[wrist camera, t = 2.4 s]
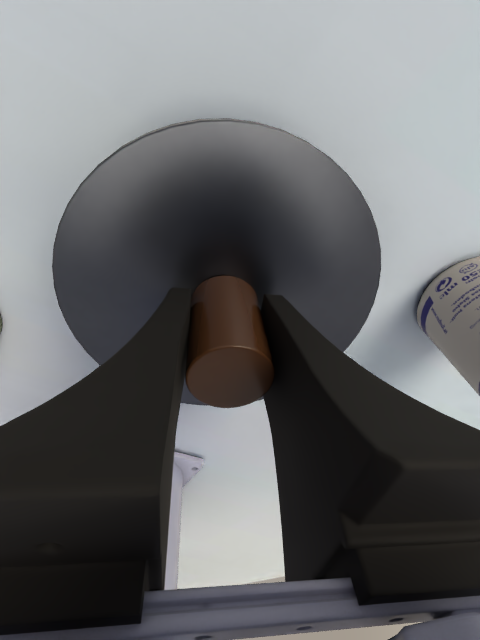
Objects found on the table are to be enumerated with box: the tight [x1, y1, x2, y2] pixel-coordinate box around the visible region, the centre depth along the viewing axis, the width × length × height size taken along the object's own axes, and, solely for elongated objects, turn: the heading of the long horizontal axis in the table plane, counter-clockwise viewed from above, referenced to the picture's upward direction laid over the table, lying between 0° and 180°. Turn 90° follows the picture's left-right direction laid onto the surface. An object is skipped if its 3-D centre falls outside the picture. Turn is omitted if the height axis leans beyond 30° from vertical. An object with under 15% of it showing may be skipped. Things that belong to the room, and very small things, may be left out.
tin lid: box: [52, 118, 381, 408], centre depth 10 cm, size 11×11×5 cm
